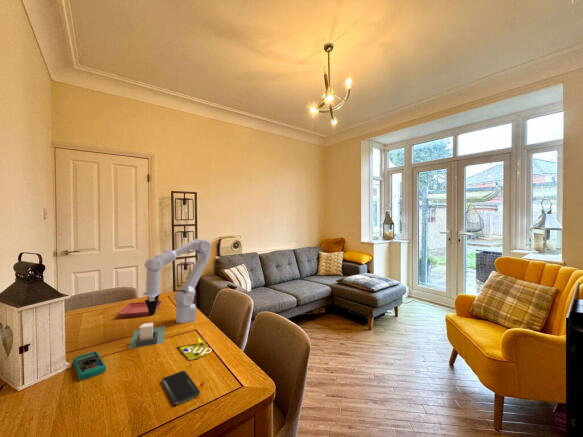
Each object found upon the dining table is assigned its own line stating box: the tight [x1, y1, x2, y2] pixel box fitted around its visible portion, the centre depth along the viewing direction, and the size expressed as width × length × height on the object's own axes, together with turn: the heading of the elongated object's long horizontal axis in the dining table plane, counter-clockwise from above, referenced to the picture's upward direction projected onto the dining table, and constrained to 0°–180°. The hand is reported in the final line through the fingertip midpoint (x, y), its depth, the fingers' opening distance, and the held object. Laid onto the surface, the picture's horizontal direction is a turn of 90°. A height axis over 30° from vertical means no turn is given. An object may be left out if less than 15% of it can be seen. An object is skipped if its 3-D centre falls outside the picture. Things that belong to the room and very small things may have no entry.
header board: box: [128, 325, 166, 349], centre depth 113 cm, size 13×18×3 cm
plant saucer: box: [118, 300, 163, 319], centre depth 144 cm, size 18×18×3 cm
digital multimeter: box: [72, 350, 107, 381], centre depth 90 cm, size 7×15×3 cm, turn 48°
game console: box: [176, 335, 212, 361], centre depth 106 cm, size 18×11×2 cm, turn 45°
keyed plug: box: [139, 322, 154, 340], centre depth 108 cm, size 5×4×7 cm
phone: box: [161, 370, 201, 406], centre depth 81 cm, size 8×1×15 cm
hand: (152, 311), depth 119 cm, fingers open, 7 cm apart
